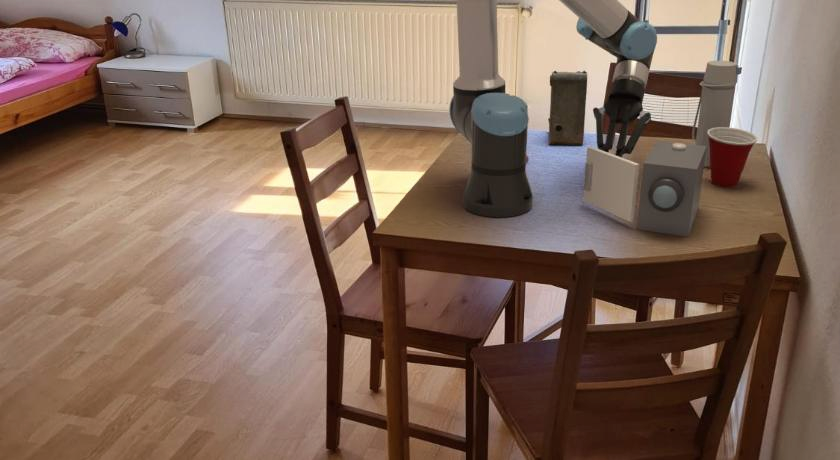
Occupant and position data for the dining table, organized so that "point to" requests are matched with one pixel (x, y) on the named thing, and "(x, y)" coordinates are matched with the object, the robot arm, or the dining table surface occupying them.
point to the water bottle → (714, 101)
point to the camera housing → (670, 188)
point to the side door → (611, 183)
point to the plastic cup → (728, 154)
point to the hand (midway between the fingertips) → (607, 179)
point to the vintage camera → (567, 108)
